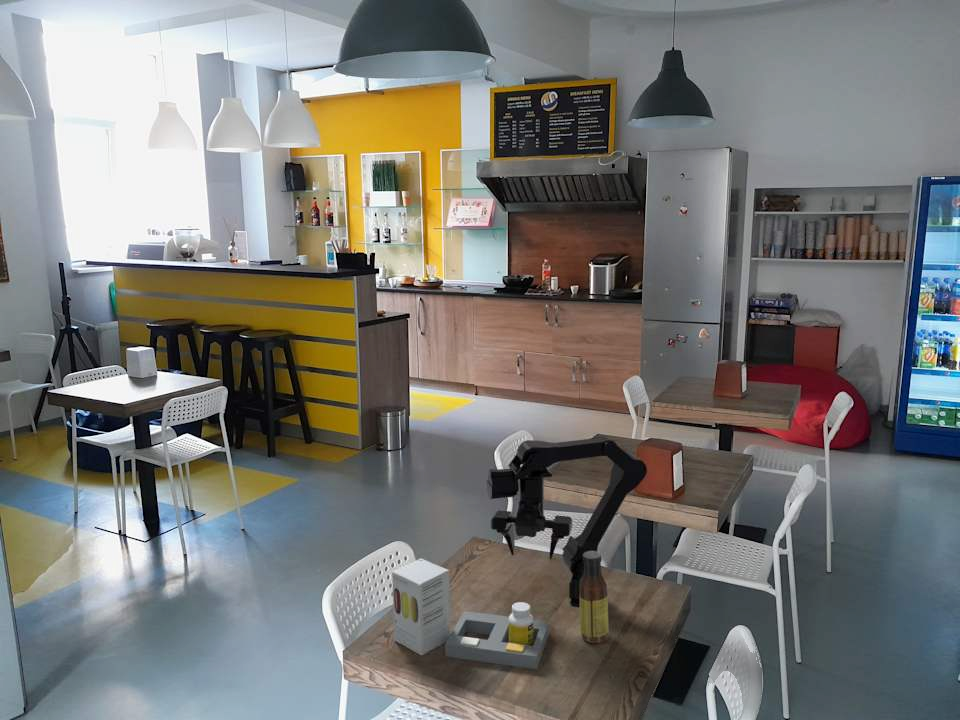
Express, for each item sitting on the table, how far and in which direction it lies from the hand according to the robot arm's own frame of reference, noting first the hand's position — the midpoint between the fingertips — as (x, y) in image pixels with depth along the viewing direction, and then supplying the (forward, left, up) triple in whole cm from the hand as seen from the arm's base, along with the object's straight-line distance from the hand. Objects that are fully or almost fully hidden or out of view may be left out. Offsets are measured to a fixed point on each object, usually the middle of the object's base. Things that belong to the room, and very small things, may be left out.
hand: (531, 556), depth 176 cm
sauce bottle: (-16, +10, -13) cm, 23 cm away
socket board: (+4, +18, -13) cm, 23 cm away
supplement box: (+21, +20, -13) cm, 32 cm away
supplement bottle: (-1, +18, -13) cm, 22 cm away
